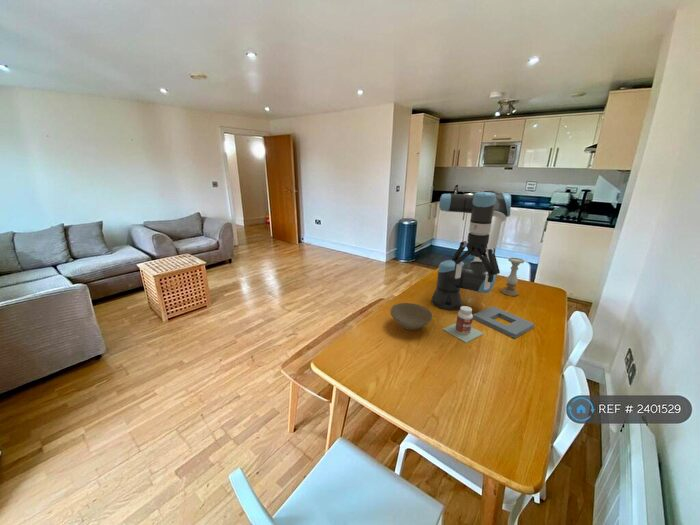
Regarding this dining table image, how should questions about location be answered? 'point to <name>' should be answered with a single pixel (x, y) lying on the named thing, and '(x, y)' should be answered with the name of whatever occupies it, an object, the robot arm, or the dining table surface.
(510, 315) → the socket block
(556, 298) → the dining table surface
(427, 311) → the bowl
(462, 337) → the mat
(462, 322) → the pill bottle
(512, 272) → the candle holder
